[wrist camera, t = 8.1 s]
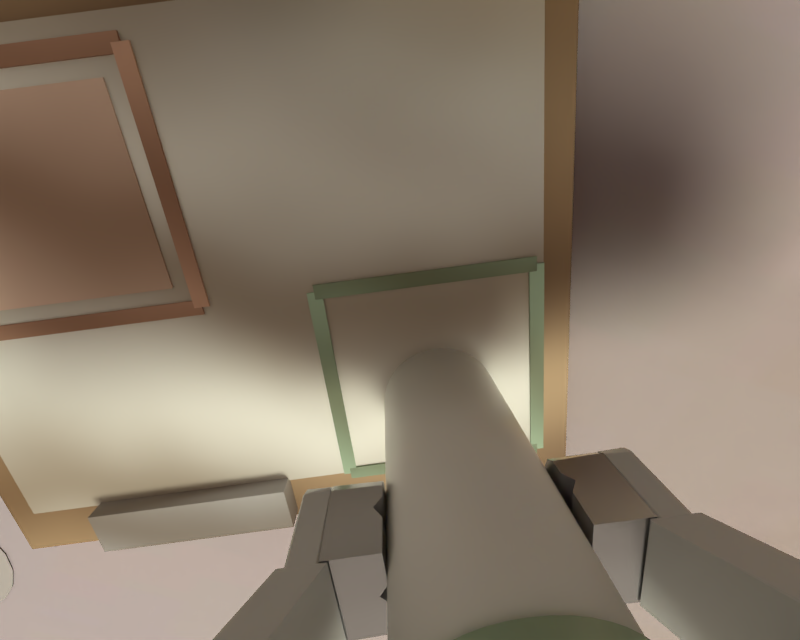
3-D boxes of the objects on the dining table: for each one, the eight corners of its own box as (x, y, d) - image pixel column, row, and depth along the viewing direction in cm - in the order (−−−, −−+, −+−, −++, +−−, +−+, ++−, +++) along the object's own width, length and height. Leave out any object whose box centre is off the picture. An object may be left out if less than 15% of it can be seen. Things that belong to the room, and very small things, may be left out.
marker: (373, 353, 10) (332, 1099, 2) (495, 337, 10) (1017, 1004, 2) (389, 455, 11) (411, 1217, 3) (500, 440, 11) (839, 1154, 3)
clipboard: (-248, 19, 8) (-358, -11, 7) (567, -84, 8) (600, -132, 7) (47, 533, 13) (13, 568, 12) (556, 466, 13) (574, 494, 12)
